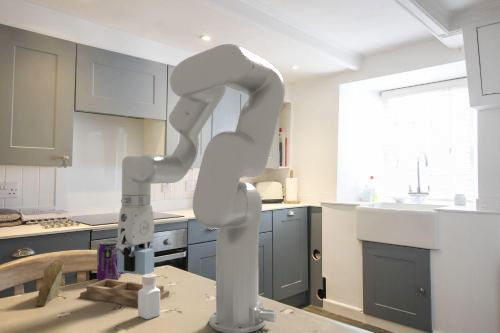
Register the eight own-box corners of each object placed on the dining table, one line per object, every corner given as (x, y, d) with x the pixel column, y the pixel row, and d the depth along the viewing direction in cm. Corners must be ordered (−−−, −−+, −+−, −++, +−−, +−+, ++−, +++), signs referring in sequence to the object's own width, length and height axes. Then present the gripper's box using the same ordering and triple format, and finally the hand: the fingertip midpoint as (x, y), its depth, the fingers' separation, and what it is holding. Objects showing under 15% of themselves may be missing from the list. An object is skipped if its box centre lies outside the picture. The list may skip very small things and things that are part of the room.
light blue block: (154, 271, 98) (154, 244, 98) (144, 275, 95) (144, 247, 95) (127, 268, 102) (127, 242, 102) (117, 271, 98) (117, 245, 98)
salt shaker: (136, 316, 85) (137, 275, 85) (151, 311, 88) (151, 272, 88) (146, 320, 82) (146, 278, 83) (161, 315, 86) (161, 275, 86)
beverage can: (112, 283, 111) (112, 244, 112) (92, 282, 113) (92, 243, 113) (125, 277, 118) (125, 240, 118) (105, 275, 120) (105, 239, 120)
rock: (49, 300, 90) (78, 283, 99) (30, 272, 91) (61, 258, 100) (25, 321, 93) (56, 302, 103) (6, 293, 94) (39, 278, 103)
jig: (169, 295, 100) (169, 285, 100) (146, 307, 90) (146, 296, 91) (107, 286, 108) (107, 277, 108) (80, 297, 99) (80, 286, 99)
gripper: (125, 204, 89) (124, 278, 89) (165, 199, 105) (165, 263, 105) (102, 203, 92) (101, 275, 92) (144, 198, 108) (143, 260, 107)
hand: (135, 268), depth 98 cm, fingers closed on light blue block, 4 cm apart
